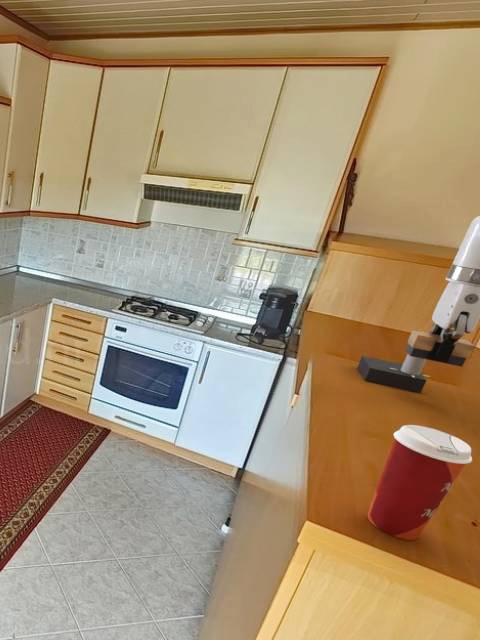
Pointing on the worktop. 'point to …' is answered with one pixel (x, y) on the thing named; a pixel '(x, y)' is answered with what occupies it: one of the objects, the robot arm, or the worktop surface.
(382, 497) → the paper cup
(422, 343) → the brush
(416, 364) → the stove knob
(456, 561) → the worktop surface
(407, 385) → the stove
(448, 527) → the worktop surface
